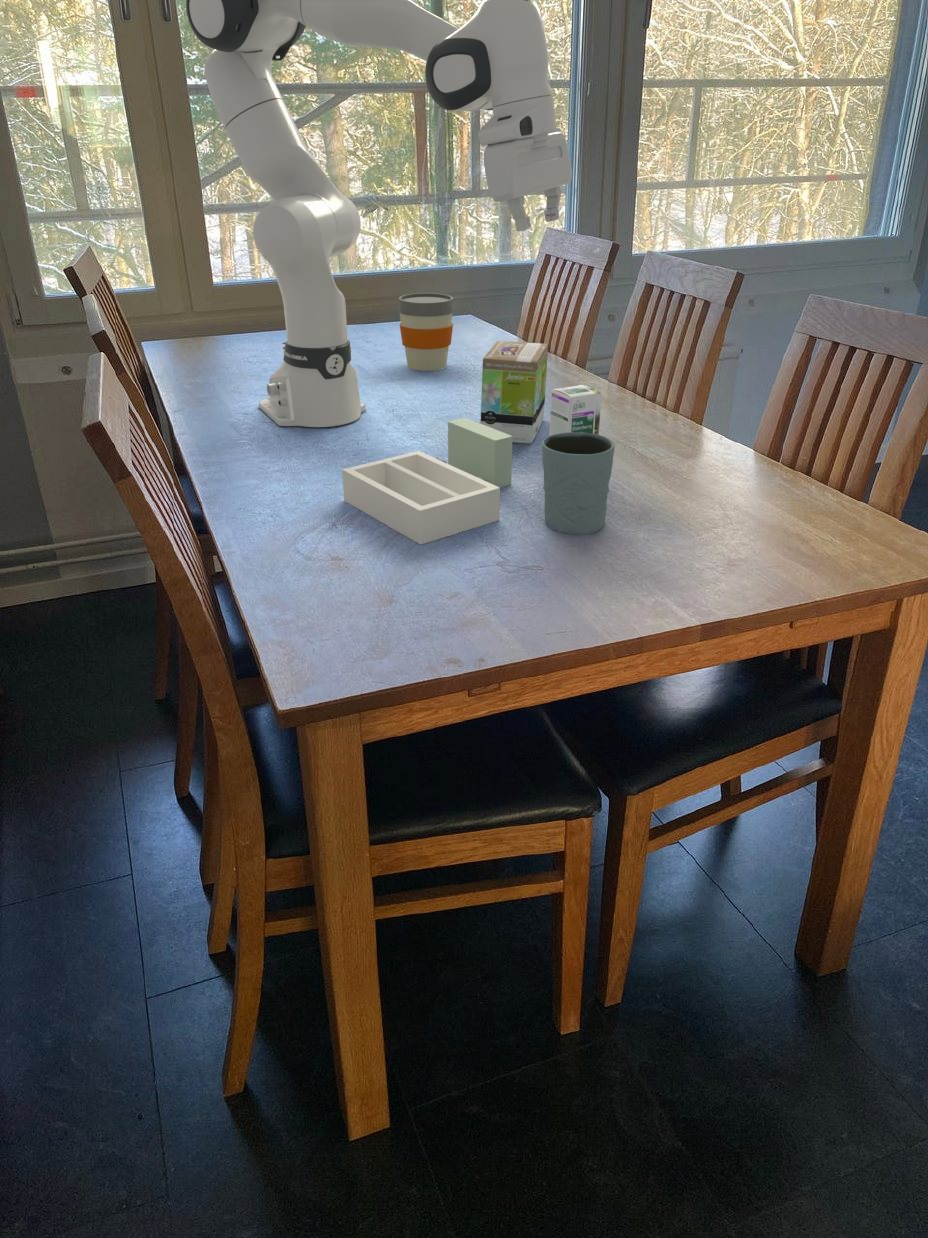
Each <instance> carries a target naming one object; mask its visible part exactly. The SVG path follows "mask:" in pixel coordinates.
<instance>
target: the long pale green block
mask: <svg viewBox="0 0 928 1238" xmlns="http://www.w3.org/2000/svg"><path fill="white" fill-rule="evenodd" d="M512 441H513V436H511V435H508V434H506V433H503V432H501V431H498V430H495V429H493V428H490V427H488V426H485V425H483V424H480V422H477V421H474V420H472V419H469V418H467V417H462V418H458V419H453V420H450V421H447V459H448V460H447V464H449V465H451V466H453V467H455V468H458V469H460V470H462V471H464V472H466V473H469V474H471V475H473V476H475V477H477V476H478V477H480V478H483V479H485V480H487V481H488V483H491V484H493V485H495V486H497V487H499V488H500V489H501V488H504V487H508V486H511V485H512V475H513V474H512V471H513V467H512V465H513V442H512Z"/></svg>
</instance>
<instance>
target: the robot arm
mask: <svg viewBox="0 0 928 1238" xmlns="http://www.w3.org/2000/svg"><path fill="white" fill-rule="evenodd" d="M185 8H186V10H185V11H186V14H187V15H186V16H187V20H188V24H189V25H190V28H191V30H192V32H193V33H194V35H195V36H196V38H197V39H198V40H199V41H200V42H201V43H202V44H204V45H205V46H206V47H209V48H211V49H213V50H212V51H211V53H210V54H209V55H208V57H207V58H206V61H205V63H204V68H203V69H204V70H203V71H204V77H205V81H206V85H207V88H208V91H209V94H210V96H211V100H212V103H213V105H214V107H215V110H216V112H217V115H218V117H219V119H220V121H221V125H222V126H223V129H224V130H225V132H226V134H227V137H228V139H229V140H230V143H231V144H232V147H233V149H234V151H235V152H236V155H237V158H238V159H239V161H240V162H241V165H242V167H243V168H244V171H245V173H246V174H247V176H248V177H249V179H251V180H252V181H253V182H255V183H256V184H257V185H259V186H260V187H261V188H262V189H263V190H265V191H266V193H267V194H268V195H269V196H270V198H271V199H272V200H273V201H272V202H270V203H269V204H268V205H267V206H265V207H263V208H262V209H261V210H260V211H259V212H258V214H257V215H256V217H255V219H254V222H253V227H252V236H253V241H254V244H255V246H256V249H257V251H258V252H259V254H260V255H261V257H263V259H264V260H266V261H267V263H268V264H269V265H270V268H271V269H272V271H273V274H274V276H275V279H276V282H277V284H278V288H279V291H280V294H281V299H282V304H283V305H282V306H283V311H284V312H283V313H284V321H285V323H284V324H285V330H286V342H282V343H281V345H284V346H282V350H283V361H284V362H282V364H280V366H279V367H278V368H277V369H276V371H275V372H273V374H271V375H270V377H269V381H268V382H269V383H267V384H266V391H267V394H268V396H269V397H266V398H265V399H262V400H260V401H258V408H260V409H261V410H262V412H263V413H265V414H266V415H267V416H268V417H269V418H270V420H272V421H273V422H275V423H276V424H277V425H278V426H280V427H305V428H306V427H307V428H328V427H336V426H338V427H339V426H342V425H347V424H350V423H353V422H355V421H357V420H358V419H360V418H361V414H362V412H364V411H365V410H367V407H366V404H365V402H362V401H361V396H360V388H359V381H358V373H357V369H356V368H355V366H353V365H352V364H351V362H352V361H351V360H352V347H351V341H350V340H349V339H348V328H347V325H348V324H347V309H346V306H347V305H346V304H347V303H346V299H345V295H344V294H343V292H342V291H341V290H340V289H339V288H338V286H337V284H336V282H335V280H334V275H333V273H332V269H331V264H330V259H331V258H335V257H337V256H340V255H342V254H344V253H345V252H346V251H348V249H349V248H350V247H352V245H354V244H355V243H356V241H357V240H358V237H359V236H360V232H361V227H362V224H361V216H360V213H359V211H358V209H357V207H356V205H355V204H354V202H353V201H352V200H351V199H349V198H348V197H346V196H345V195H344V194H343V193H342V192H341V191H339V189H338V188H337V187H336V186H335V185H334V183H333V182H332V180H330V177H328V176H327V174H326V173H325V172H324V170H323V169H322V167H321V166H320V164H319V163H318V162H317V160H316V159H315V158H314V156H313V154H312V153H311V152H310V150H309V148H308V147H307V145H306V143H305V142H304V139H303V138H302V136H301V133H300V132H299V129H298V127H297V125H296V123H295V121H294V119H293V117H292V115H291V113H290V111H289V109H288V107H287V104H286V103H285V101H284V97H282V94H281V92H280V90H279V88H278V86H277V84H276V82H275V79H274V76H273V73H272V61H273V62H280V61H283V60H284V59H285V58H286V57H287V54H288V53H289V51H290V49H291V48H292V47H293V46H294V45H295V44H296V43H297V42H298V40H300V38H301V37H302V36H303V34H304V32H305V30H306V27H307V29H310V30H312V31H313V32H314V33H316V34H318V35H320V36H322V37H323V38H326V39H328V40H331V41H333V42H337V43H340V44H343V45H345V46H352V47H365V48H366V47H368V48H371V47H372V48H383V49H393V50H398V51H403V52H404V53H405V52H406V53H408V54H410V55H412V56H413V55H414V56H415V57H417V58H419V59H420V60H422V61H425V70H424V72H425V73H424V78H425V83H426V84H425V85H426V87H427V88H426V89H427V91H428V93H429V95H430V97H431V99H432V101H434V103H436V104H437V106H439V107H440V108H442V109H444V110H447V111H452V112H473V111H483V110H484V111H492V114H493V115H492V116H491V117H490V118H489V120H488V121H486V123H485V124H483V126H481V128H479V131H478V140H479V144H480V146H482V147H484V149H483V150H484V151H483V167H484V172H485V179H486V183H487V184H486V185H487V189H488V193H489V195H490V196H491V199H492V200H493V201H494V202H495V203H498V202H505V201H507V202H506V203H507V208H508V210H509V212H510V214H511V217H512V218H513V219H514V224H515V230H516V231H517V232H525V231H527V230H530V229H531V226H532V224H531V219H530V217H531V216H530V215H529V216H527V212H526V210H525V207H524V205H526V202H525V201H526V200H525V197H526V196H529V195H534V194H536V193H540V192H544V197H545V198H546V206H545V207H546V208H545V209H544V210H543V212H544V219H545V221H546V222H555V221H558V220H559V219H560V209H559V207H560V202H561V196H562V193H561V192H562V191H561V186H566V185H569V184H571V183H572V178H573V169H572V163H571V157H570V151H569V150H570V149H569V145H568V142H567V139H566V136H565V134H564V133H563V132H562V130H561V128H560V127H559V126H558V124H557V121H556V112H555V103H554V94H553V91H552V90H553V89H552V87H551V85H550V82H549V75H548V72H549V71H548V70H549V69H548V68H549V52H548V45H547V38H546V32H545V28H544V22H543V18H542V14H541V11H540V8H539V6H538V3H537V2H536V1H535V0H482V1H481V4H480V5H479V7H478V9H477V11H476V12H475V13H474V14H473V16H472V17H471V18H470V19H469V20H468V21H467V22H466V23H464V25H462V26H461V27H460V26H458V25H456V24H454V23H452V22H451V21H449V20H446V19H445V18H443V17H441V16H439V15H437V14H435V13H433V12H432V11H430V10H427V9H426V8H425V7H423V6H420V5H419V4H417V3H416V2H414V1H412V0H185Z"/></svg>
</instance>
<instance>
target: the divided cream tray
mask: <svg viewBox="0 0 928 1238" xmlns="http://www.w3.org/2000/svg"><path fill="white" fill-rule="evenodd" d="M341 471H342V487H343V489H342V490H343V501H344V503H347V504H349V505H351V506H352V507H355V508H356V509H358V510H360V511H361V512H363V513H364V514H366V515H368V516H370V517H371V518H373V519H375V520H377V521H379V522H380V523H382V524H384V525H385V526H387V527H389V528H391V529H392V530H394V531H396V532H398V533H400V534H402V535H403V536H405V537H407V538H409V539H410V540H411V541H413V542H415V543H417V544H419V545H424V544H428V543H431V542H434V541H438V540H441V539H444V538H447V537H450V536H453V535H456V534H460V533H463V532H466V531H470V530H472V529H476V528H478V527H483V526H485V525H488V524H493V523H496V522H499V521H500V508H501V507H500V506H501V502H500V501H501V488H499V487H497V486H495V485H493V484H491V483H488V481H487V480H485V479H483V478H480V477H478V476H477V477H475V476H473V475H471V474H469V473H466V472H464V471H462V470H460V469H458V468H455V467H453V466H451V465H449V464H448V461H447V462H446V461H445V460H443V459H440V458H437V457H436V458H435V457H433V456H431V455H429V454H427V453H424V452H423V451H420V450H417V451H413V452H408V453H405V454H400V455H396V456H393V457H388V458H384V459H380V460H375V461H371V462H367V463H364V464H359V465H355V466H351V467H346V468H343V469H342V470H341ZM462 531H463V532H462ZM459 532H460V533H459Z"/></svg>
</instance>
